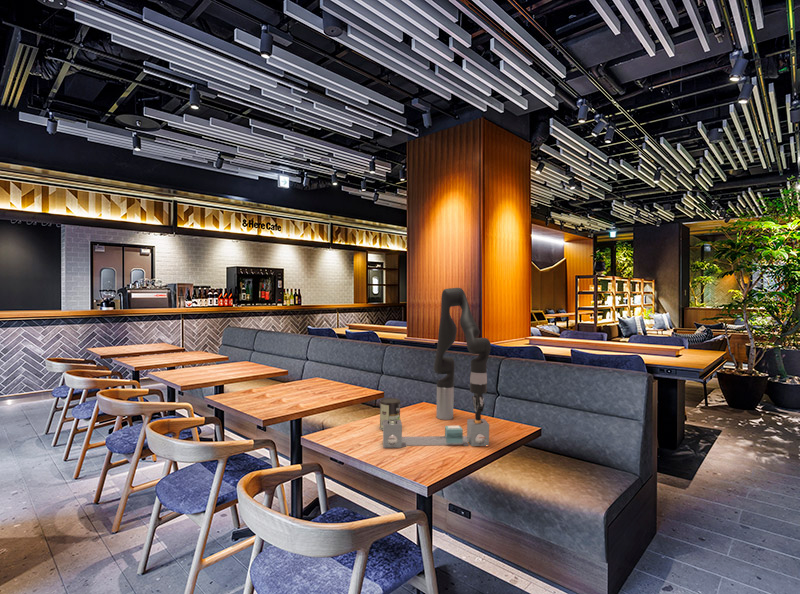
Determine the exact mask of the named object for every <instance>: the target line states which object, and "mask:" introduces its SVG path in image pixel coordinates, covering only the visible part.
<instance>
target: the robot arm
mask: <svg viewBox="0 0 800 594" xmlns="http://www.w3.org/2000/svg"><path fill="white" fill-rule="evenodd" d="M440 303H441V304H440V320H439V328H438V336H437V347H436V351H435V352H436V354H435V358H434V362H433V364H434V365H433V369H434V373H436V374H437V375H446V376H444V377H443V378H440V379H438V380H437V381H436V410H435V411H436V415H435V416H436V418H437V419H439V420H444V421H449V420H452V419H454V399H455V398H454V397H455V395H454V391H455V390H454V389H455V387H454V386H455V385H454V382H455V369H456V368H455V366H456V364H455V359H454V358H453V357H452V356H444V355H445V353H446V352H447V351H448V350H449V348H451V347H452V345H453V344H454V343H455V341H456V338H457V329H458V327H457V325H456V322H455V321H454V320H453V318H452V316H451V312H450V310H451V307H452V308H453V307H460V309H461V315H460V318H459V324H460V328H461V330H462V332H463V333H464V336H465V341H466V347H467V350H468V352H469V353H471V354H472V355H475V354H476V355H477V354H478V356H477V357H475V358H472V359H471V361H470V375H469V391H470V393H472V394H473V395H472V397H471V398H472V405H473V409H474V411H475V413H474V417H475V418H474V419H476V420H481V419H482V413H483V412H484V407H485V405H486V404H485V402H484V400H485V399H484V397H483V396H484V395H485V394H487V392H488V375H487V369H488V368H487V367H488V365H487V363H488V360H489V357H490V356H489V355H490V352H491V349H492V347H491V346H492V345H491V341H490V340H489V339H488V337H479V335H480V333H481V331H480V329H479V326H478V325H477V322H476V321H475V320H474V317H473V315H472V311H471V307H470V304H469V301H468V298H467V296H466V293H465V291H464V289H462V288H461V287H451V288H444V289H443V290H442V293H441V301H440ZM483 394H484V395H483Z"/></svg>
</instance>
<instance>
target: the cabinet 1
mask: <svg viewBox="0 0 800 594" xmlns="http://www.w3.org/2000/svg"><path fill="white" fill-rule="evenodd" d="M402 437H403V424H402V421H401V419H400V420H383V430H382V445H383V449H401V448H403V447H402Z"/></svg>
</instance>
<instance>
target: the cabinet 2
mask: <svg viewBox="0 0 800 594" xmlns="http://www.w3.org/2000/svg"><path fill="white" fill-rule="evenodd" d="M466 420H467V421H466V425H467V426H466V436H467V438H468V442H469V443H468V445H471V446H486V445H489V446H490V423H489V422H488V421H487V420H486V419H485V418H481V423H475V418H467V419H466ZM471 446H470V447H471Z"/></svg>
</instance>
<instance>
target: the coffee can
mask: <svg viewBox="0 0 800 594" xmlns="http://www.w3.org/2000/svg"><path fill="white" fill-rule="evenodd" d="M383 420H401V399H399V398H395V397H387V398H382V399H380V400H379V429H380V431H383Z"/></svg>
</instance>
